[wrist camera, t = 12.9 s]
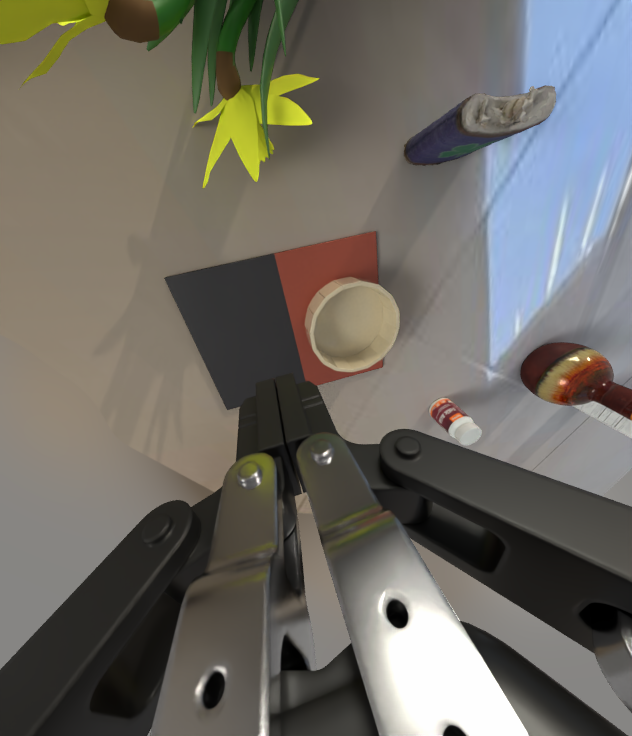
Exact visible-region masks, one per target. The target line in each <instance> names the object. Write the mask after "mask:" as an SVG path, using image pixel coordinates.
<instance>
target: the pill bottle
mask: <svg viewBox="0 0 632 736" xmlns="http://www.w3.org/2000/svg"><path fill="white" fill-rule="evenodd" d="M429 413H430V415H431V416H432V417H433V418H434V419H435V420H436V422H437V423H438V424H439V425H440V426H441V427H442V428H443V429H444V430H445V431H446V432H447V433H448V434H449V435H450V436H451V437H453V438H456V439H457V440H458V441H459V442H460V443H461V444H462V445H465V446H466V445H471V444H473V443H474V442H476V441H477V440H478V439H479V438H480V436H481V434H482V431H481V429H480V428H479V427H478V426H477V425H476V424H474V422H473V420H472V419H471V418H470V417H469V416H468V415H467V414H466V413H465V412H463V411H462V410H461V409H460V408H459V407H457V406H456V405H455V404H454V403H453V402H452V401H450V400H449V399H447V398H441V399H438V400H436V401H435V402H434V403H433V404H432V405H431V406H430V409H429Z"/></svg>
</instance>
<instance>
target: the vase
mask: <svg viewBox="0 0 632 736" xmlns="http://www.w3.org/2000/svg"><path fill="white" fill-rule="evenodd" d="M520 375H521V379H522V381H523V383H524V385H525V386H526V387H527V388H528V389H529V390H530V391H531V392H532V393H533V394H535V395H536V396H538V397H539V398H541V399H543V400H545V401H547V402H550V403H554V404H558V405H565V406H575V405H583V404H587V403H590V402H593V401H594V402H597V403H599V404H601V405H603V406H605V407H607V408H609V409H611V410H613V411H615V412H616V413H618V414H620V415H622V416H623V417H625V418H627V419H629V420H631V421H632V389H629V388H626V387H623V386H621V385H619V384H616V383H614V382H613V379H614V374H613V369H612V367H611V365H610V363H609V361H608V360H607V359H606V358H605V357H604V356H603V355H601V354H600V353H599V352H597V351H595V350H593V349H591V348H589V347H586V346H583V345H579V344H573V343H551V344H547V345H544V346H541V347H539V348H537V349H536V350H534V351H533V352H532V353H531V354H530V355H529V356H528V357H527V358H526V359H525V361H524V362H523V364H522V367H521V371H520Z"/></svg>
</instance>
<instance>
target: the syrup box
mask: <svg viewBox="0 0 632 736" xmlns="http://www.w3.org/2000/svg"><path fill="white" fill-rule="evenodd" d="M573 407H575V408H577V409H578V410H580V411H582V412H584V413H586V414H587V415H589V416H591V417H593V418H595V419H597V420H598V421H600V422H602V423H604V424H606V425H608V426H610V427H611V428H613V429H615V430H617V431H619V432H620V433H622V434H624V435H626V436H628V437H630V438H631V439H632V421H631V420H629V419H627V418H625V417H623V416H622V415H620V414H618V413H616V412H615V411H613V410H611V409H609V408H607V407H605V406H603V405H601V404H599V403H597V402H594V401H593V402H590V403H587V404H583V405H575V406H573Z"/></svg>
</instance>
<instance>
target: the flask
mask: <svg viewBox="0 0 632 736" xmlns="http://www.w3.org/2000/svg"><path fill="white" fill-rule="evenodd" d="M529 91H530V92H529V93H525V94H519V95H514V96H505V97H493V96H490V95H486V94H485V93H484V94H480V93H479V94H474V95H472V96H470V97H469V98H467V99H465V100H464V101H462V102H461V103H460V104H458V105H457V106H456V107H455V108H453V109H451V110H450V111H449V112H448V113H446V114H445V115H443V116H442V117H441V118H439V119H438V120H436V121H435V122H433V123H432V124H430V125H429V126H428V127H427V128H425V129H424V130H422V131H421V132H420V133H418V134H416V135H415V136H414V137H411V138H410V139H409V141H408V142H407V143H406V144H405V145H404V147H405V150H404V156H405V159H406V161H407V162H408V163H410V164H411V163H412V164H413V165H423V166H426V165H434V164H440V163H443V162H446V161H450V160H454V159H457V158H460V157H463V156H466V155H468V154H470V153H472V152H474V151H476V150H478V149H480V148H483V147H485V146H488V145H490V144H492V143H494V142H497V141H500V140H502V139H504V138H507V137H509V136H512V135H514V134H517V133H520V132H522V131H524V130H527V129H529V128H531V127H533V126H536V125H538V124H540V123H541V122H543V121H544V120H546V119H547V118H548V117H549V115H550V114H551V112H552V110H553V108H554V105H555V103H556V92H555V87H553V86H543V87H540V88H537V89H534V86H532V87H530V89H529Z"/></svg>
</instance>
